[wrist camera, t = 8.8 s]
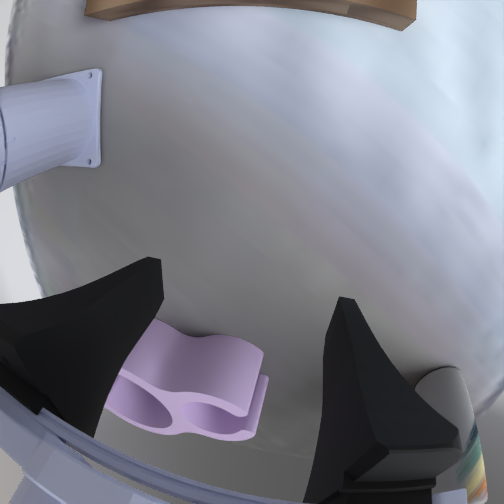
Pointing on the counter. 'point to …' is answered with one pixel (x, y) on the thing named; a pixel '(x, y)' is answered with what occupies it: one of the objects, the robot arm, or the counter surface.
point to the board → (338, 3)
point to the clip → (190, 385)
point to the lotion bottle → (461, 415)
